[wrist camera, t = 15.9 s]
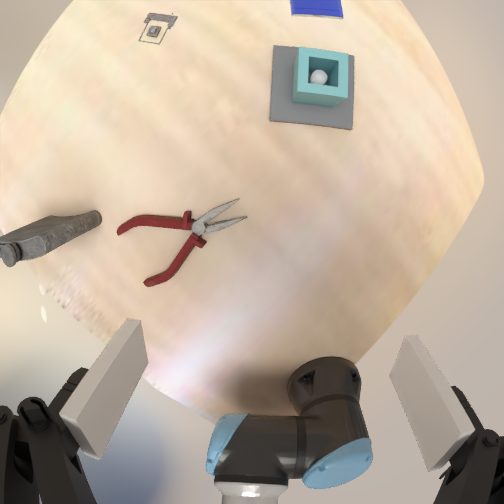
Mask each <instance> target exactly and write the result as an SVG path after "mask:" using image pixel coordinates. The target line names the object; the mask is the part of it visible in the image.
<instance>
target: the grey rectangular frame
mask: <svg viewBox="0 0 504 504" xmlns="http://www.w3.org/2000/svg"><path fill="white" fill-rule="evenodd" d="M171 13H172V12H171ZM172 14H173V13H172ZM176 19H177V16H171V15H164V14H156V13H149V14H148V15H147V18H146V19H145V21H144V22H145V23H147V25H148V23H149V21H150V20H156V21H163V22H169V24H168V28H167V29H170V28H171V27H172V26H173V24H174V22H175V21H176ZM147 25H146V27H147ZM146 27H145V29H146ZM160 28H161V27H157V26H150V28H149V30H148V33H147V36H154V37H156V36H157V34H158V32H159V30H160ZM145 29H144V31H145ZM167 29H166V31H167ZM144 31H143V33H144ZM166 31H165V33H166ZM143 33H142V35H143ZM165 33H164V35H165ZM142 35H141V37H142ZM164 35H163V37H164ZM141 37H140V39H141ZM163 37H162V39H163ZM140 39H139V41H140ZM162 39H161V41H162ZM161 41H160V43H161ZM142 42H147V41H142ZM148 43H153V42H148ZM160 43H154V44H160Z"/></svg>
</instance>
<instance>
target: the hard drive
mask: <svg viewBox="0 0 504 504" xmlns="http://www.w3.org/2000/svg"><path fill="white" fill-rule="evenodd" d="M290 5H291V14H292V16H305V17H323V18H334V19H343V12H342V6H341V0H290Z"/></svg>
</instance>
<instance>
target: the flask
mask: <svg viewBox="0 0 504 504" xmlns="http://www.w3.org/2000/svg"><path fill="white" fill-rule="evenodd" d="M101 221H102V217H101V214H100V213H99V212H98V211H95V210H94V211H91V212H88V213H85V214H82V215H77V216H69V217H57V216H48V217H45V218H43V219H40V220H38V221H36V222H33V223H31V224H28V225H26V226H24V227H21V228H19V229H17V230H14V231H12V232H10V233H8V234H6V235H3V236H1V237H0V258H2V260H3V262H4V263H5V265H7V266H8V267H12V266H14V265H15V264H16V262H18V261H22V260H31V259H35V258H38V257H41V256H43V255H45V254H47V253H49V252H50V251H52V250H54V249H56V248H57V247H59V246H61V245H63V244H65V243H66V242H68V241H70V240H72V239H74V238H76V237H78V236H79V235H81V234H83V233H85V232H87V231H89V230H91V229H93V228H95V227H97V226H99V225H100V224H101Z"/></svg>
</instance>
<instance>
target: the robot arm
mask: <svg viewBox="0 0 504 504" xmlns="http://www.w3.org/2000/svg"><path fill="white" fill-rule="evenodd" d="M147 364H148V358H147V353H146V348H145V342H144V336H143V330H142V324H141V320H135V319H129V318H127V319H126V320H125V322H124V323H123V324H122V326H121V327H120V328H119V330H118V331H117V332H116V334H115V335H114V336H113V338H112V339H111V340H110V342H109V343H108V344H107V346H106V347H105V348H104V350H103V351H102V352H101V354H100V355H99V357H98V358H97V359H96V361H95V362H94V363H93V365H92V366H91V368H90V369H86V368H82V367H81V368H80V369H78V370H77V371H75V372H74V373H73V374H72V375H71V376H70V377H69V379H68V380H67V383H65V384H64V386H63V387H62V389H61V390H60V391H59V392H58V394H57V395H56V397H55V398H54V399H53V401H52V402H51V404H50V405H49V406H48V407H47V405H46V404H45V402H44V401H43V400H42V399H40V398H38V397H29V398H26V399H24V400H23V401H22V402H20V404H19V406H18V409H17V413H18V414H19V416H16V415H14V414H13V413H12V411H11V410H10V409H9V408H8V407H7V406H0V504H39V494H40V497H41V501H42V504H97V503H96V501H95V498H94V496H93V494H92V491H91V489H90V486H89V484H88V481H87V479H86V476H85V473H84V470H83V468H82V465H81V462H80V459H79V456H78V455H77V451H78V449H79V447H80V448H81V450H82V451H83V453H84V454H85V455H88V456H91V457H93V458H96V459H99V460H101V458H102V456H103V453H104V451H105V449H106V447H107V445H108V443H109V441H110V439H111V436H112V434H113V432H114V430H115V428H116V426H117V424H118V422H119V420H120V418H121V416H122V414H123V412H124V410H125V408H126V406H127V404H128V402H129V400H130V398H131V396H132V394H133V391H134V390H135V388H136V386H137V384H138V382H139V380H140V378H141V376H142V374H143V372H144V370H145V368H146V366H147ZM390 378H391V381H392V383H393V385H394V387H395V390H396V392H397V394H398V397H399V399H400V401H401V404H402V406H403V408H404V411H405V413H406V416H407V418H408V421H409V423H410V425H411V428H412V430H413V433H414V435H415V437H416V441H417V443H418V446H419V448H420V451H421V454H422V456H423V459H424V462H425V465H426V467H427V470H428V472H430V471H433V470H436V469H440V468H442V467H443V466H444V465H445V464H446V463H447V462H448V461H450V464H451V466H450V467H449V468H448V469H447V470H446V471H445V472H444V473H443V474H442V475H441V476H440V478H439V479H441V478H443V477H444V476H445V478H444V480H443V483H442V485H441V487H440V490H439V492H438V495H437V497H436V499H435V501H434V503H433V504H504V436H502V437H501V436H500V437H499V436H498V434H497V433H496V432H494V431H493V430H489V429H486V430H485V429H484V428H483V426H482V424H481V422H480V421H479V419H478V417H477V416H476V414H475V412H474V410H473V409H472V408H471V405H470V404H469V402H468V401H467V399H466V397H465V395H464V394H463V392H462V391H460V390H459V389H458V388H457V387H456V386H450V385H449V383H448V382H447V381H446V379H445V377H444V375H443V374H442V372H441V370H440V369H439V367H438V366H437V364H436V363H435V361H434V360H433V358H432V357H431V355H430V354H429V352H428V351H427V349H426V348H425V346H424V345H423V343H422V342H421V340H420V339H419V337H418V336H405V338H404V341H403V343H402V346H401V349H400V351H399V354H398V356H397V359H396V361H395V364H394V366H393V369H392V371H391V373H390ZM360 391H361V378H360V375H359V372H358V369H357V368H356V366H355V365H354V364H353V363H351V362H350V361H348V360H346V359H343V358H337V357H326V358H320V359H316V360H313V361H310V362H308V363H306V364H304V365H303V366H301V367H300V368H299V369H297V370H296V371H295V372H294V373H293V375H292V376H291V378H290V380H289V383H288V394H289V399H290V401H291V403H292V405H293V407H294V409H295V410H296V412H297V414H298V416H268V415H252V414H249V413H246V414H226V415H224V416H222V417H221V418H220V419H219V421H218V422H217V424H216V426H215V429H214V431H213V434H212V437H211V440H210V444H209V448H208V453H207V457H208V458H207V461H206V471H207V472H208V473H209V474H211V475H213V476H214V475H215V479H214V485H215V486H216V487H217V488H218V489H219V490H220V491H221V493H222V504H278V497H279V496H280V495H281V494H282V493H283V492H284V491H285V490H287V489H288V479H300V478H302V481H303V483H304V484H305V486H307V487H308V488H314V489H326V488H331V487H335V486H339V485H342V484H345V483H347V482H349V481H351V480H353V479H355V478H357V477H359V476H360V475H361V474H363V473H364V472H365V471H366V470H367V469H368V468H369V466H370V465H371V463H372V460H373V454H372V448H371V440H370V439H369V435H368V431H367V428H366V425H365V421H364V418H363V414H362V411H361V408H360V404H359V398H360Z"/></svg>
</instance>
